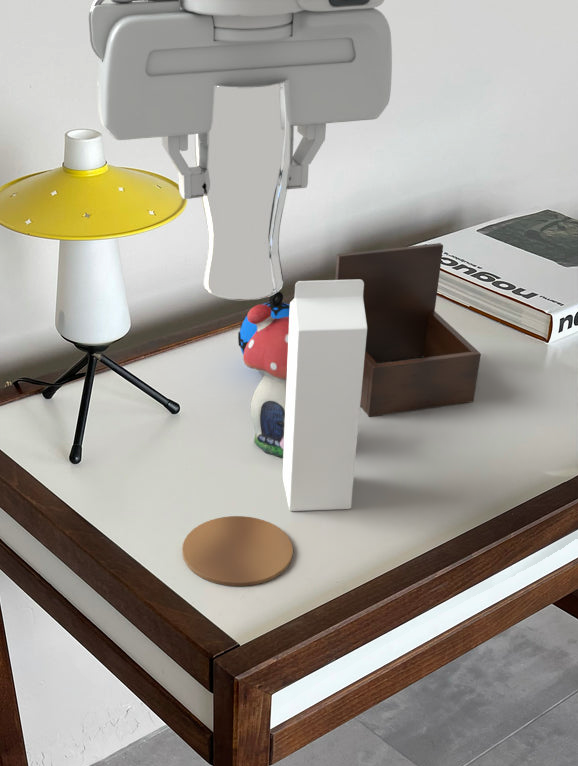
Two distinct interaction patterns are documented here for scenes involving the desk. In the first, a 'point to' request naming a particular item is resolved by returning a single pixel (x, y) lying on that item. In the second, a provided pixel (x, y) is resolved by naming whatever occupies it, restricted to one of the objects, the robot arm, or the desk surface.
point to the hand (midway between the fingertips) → (243, 191)
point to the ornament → (277, 312)
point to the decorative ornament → (268, 377)
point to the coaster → (237, 551)
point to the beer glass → (245, 188)
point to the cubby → (408, 332)
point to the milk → (323, 393)
